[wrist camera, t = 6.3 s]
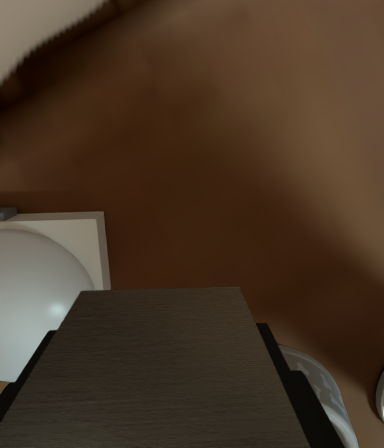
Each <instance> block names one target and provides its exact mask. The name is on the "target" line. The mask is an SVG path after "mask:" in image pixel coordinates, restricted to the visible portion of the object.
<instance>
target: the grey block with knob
mask: <svg viewBox="0 0 384 448" xmlns="http://www.w3.org/2000/svg"><path fill="white" fill-rule="evenodd" d="M0 448H310V446H309V443H308V441H307V439H306V436H305V434H304V432H303V430H302V427H301V425H300V423H299V421H298V418H297V416H296V414H295V412H294V409H293V407H292V405H291V402H290V400H289V398H288V396H287V393H286V391H285V389H284V387H283V384H282V382H281V380H280V378H279V375H278V373H277V371H276V369H275V366H274V364H273V362H272V359H271V357H270V355H269V353H268V350H267V348H266V346H265V344H264V341H263V339H262V337H261V335H260V332H259V330H258V328H257V326H256V323H255V321H254V319H253V316H252V314H251V312H250V310H249V307H248V305H247V303H246V301H245V298H244V296H243V294H242V292H241V289H240V287H239V286H237V287H200V288H162V289H125V290H88V291H81V292H80V293H79V295H78V297H77V298H76V300H75V301H74V303H73V305H72V306H71V308H70V310H69V311H68V313H67V315H66V316H65V318H64V320H63V321H62V323H61V324H60V326H59V328H58V329H57V331H56V333H55V334H54V336H53V338H52V339H51V341H50V342H49V344H48V346H47V347H46V349H45V351H44V352H43V354H42V356H41V357H40V359H39V361H38V362H37V364H36V365H35V367H34V369H33V370H32V372H31V374H30V375H29V377H28V379H27V380H26V382H25V384H24V385H23V387H22V388H21V390H20V392H19V393H18V395H17V397H16V398H15V400H14V402H13V403H12V405H11V406H10V408H9V410H8V411H7V413H6V415H5V416H4V418H3V420H2V421H1V423H0Z"/></svg>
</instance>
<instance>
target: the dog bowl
mask: <svg viewBox="0 0 384 448" xmlns="http://www.w3.org/2000/svg"><path fill="white" fill-rule="evenodd" d="M278 346H279V348H280V350H281V352H282V354H283V356H284V358H285V360H286V362H287V364H288V366H289V368H290V370H301V371H302V372H303V373H304V374H305V376H306V378H307V379H308V381H309V383H310V385H311V387H312V388H313V390H314V392H315V394H316V396H317V397H318V399H319V401H320V403H321V405H322V406H323V408H324V410H325V412H326V414H327V415H328V417H329V419H330V421H331V423H332V425H333V426H334V428H335V430H336V432H337V434H338V435H339V437H340V439H341V441H342V443H343V444H344V446H345V448H359V447H358V443H357V439H356V436H355V433H354V431H353V428H352V425H351V423H350V420H349V417H348V415H347V412H346V409H345V407H344V404H343V400H342V397H341V394H340V391H339V389H338V387H337V385H336V383H335V381H334V379H333V377H332V376H331V374H330V373H329V372H328V371H327V370H326V368H325V367H324V366H323V365H322V364H320V363H319V362H318V361H317V360H315V359H314V358H312V357H311V356H309V355H307V354H305V353H303V352H301V351H299V350H296V349H294V348H290V347H287V346H282V345H278Z"/></svg>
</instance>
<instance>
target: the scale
mask: <svg viewBox="0 0 384 448" xmlns="http://www.w3.org/2000/svg"><path fill="white" fill-rule="evenodd" d="M88 290H111V284H110V273H109V263H108V252H107V242H106V231H105V221H104V211H94V212H64V213H33V214H17V209H16V207H3V208H0V380H1V381H9V382H15V381H16V380H17V378H18V377H19V375H20V373H21V372H22V370H23V369H24V367H25V366H26V364H27V363H28V361H29V360H30V358H31V357H32V355H33V353H34V352H35V350H36V349H37V347H38V346H39V344H40V343H41V341H42V340H43V338H44V337H45V335H46V333H47V332H48V331H49V330H57V329H58V328H59V326H60V324H61V323H62V321H63V320H64V318H65V316H66V315H67V313H68V311H69V310H70V308H71V306H72V305H73V303H74V301H75V300H76V298H77V297H78V295H79V293H80V292H81V291H88Z"/></svg>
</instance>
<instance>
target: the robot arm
mask: <svg viewBox="0 0 384 448" xmlns="http://www.w3.org/2000/svg"><path fill="white" fill-rule="evenodd" d="M256 326H257V328H258V330H259V332H260V335H261V337H262V339H263V341H264V344H265V346H266V348H267V350H268V353H269V355H270V357H271V359H272V362H273V364H274V366H275V369H276V371H277V373H278V375H279V378H280V380H281V382H282V384H283V387H284V389H285V391H286V393H287V396H288V398H289V400H290V402H291V405H292V407H293V409H294V412H295V414H296V416H297V418H298V421H299V423H300V425H301V427H302V430H303V432H304V434H305V436H306V439H307V441H308V443H309V446H310V448H345V446H344V444H343V443H342V441H341V439H340V437H339V435H338V434H337V432H336V430H335V428H334V426H333V425H332V423H331V421H330V419H329V417H328V415H327V414H326V412H325V410H324V408H323V406H322V405H321V403H320V401H319V399H318V397H317V396H316V394H315V392H314V390H313V388H312V387H311V385H310V383H309V381H308V379H307V378H306V376H305V374H304V373H303V372H302V371H301V370H290V368H289V366H288V364H287V362H286V360H285V358H284V356H283V354H282V352H281V350H280V348H279V346H278V344H277V342H276V340H275V338H274V336H273V334H272V332H271V330H270V328H269V326H268V325H267V323H256ZM56 331H57V330H49V331H48V332H47V333H46V335H45V337H44V338H43V340H42V341H41V343H40V344H39V346H38V347H37V349H36V350H35V352H34V353H33V355H32V357H31V358H30V360H29V361H28V363H27V364H26V366H25V367H24V369H23V370H22V372H21V373H20V375H19V377H18V378H17V380H16V381H15V382H11V383H9V384H8V385H7V386H6V387H5V388H4V390H3V391H2V393H1V394H0V423H1V421H2V420H3V418H4V416H5V415H6V413H7V411H8V410H9V408H10V406H11V405H12V403H13V402H14V400H15V398H16V397H17V395H18V393H19V392H20V390H21V388H22V387H23V385H24V384H25V382H26V380H27V379H28V377H29V375H30V374H31V372H32V370H33V369H34V367H35V365H36V364H37V362H38V361H39V359H40V357H41V356H42V354H43V352H44V351H45V349H46V347H47V346H48V344H49V342H50V341H51V339H52V338H53V336H54V334H55V333H56ZM376 407H377V411H378V414H379V416H380V418H381V419H382V421H383V423H384V371H383V373H382V375H381V378H380V380H379V382H378V386H377V390H376Z"/></svg>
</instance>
